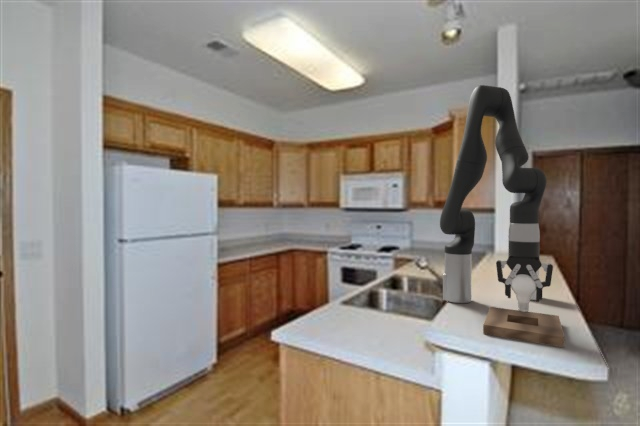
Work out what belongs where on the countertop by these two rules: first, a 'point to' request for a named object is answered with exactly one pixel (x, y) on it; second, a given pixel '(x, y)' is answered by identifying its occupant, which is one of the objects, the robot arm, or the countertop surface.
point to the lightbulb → (523, 290)
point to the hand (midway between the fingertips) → (523, 299)
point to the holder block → (524, 326)
